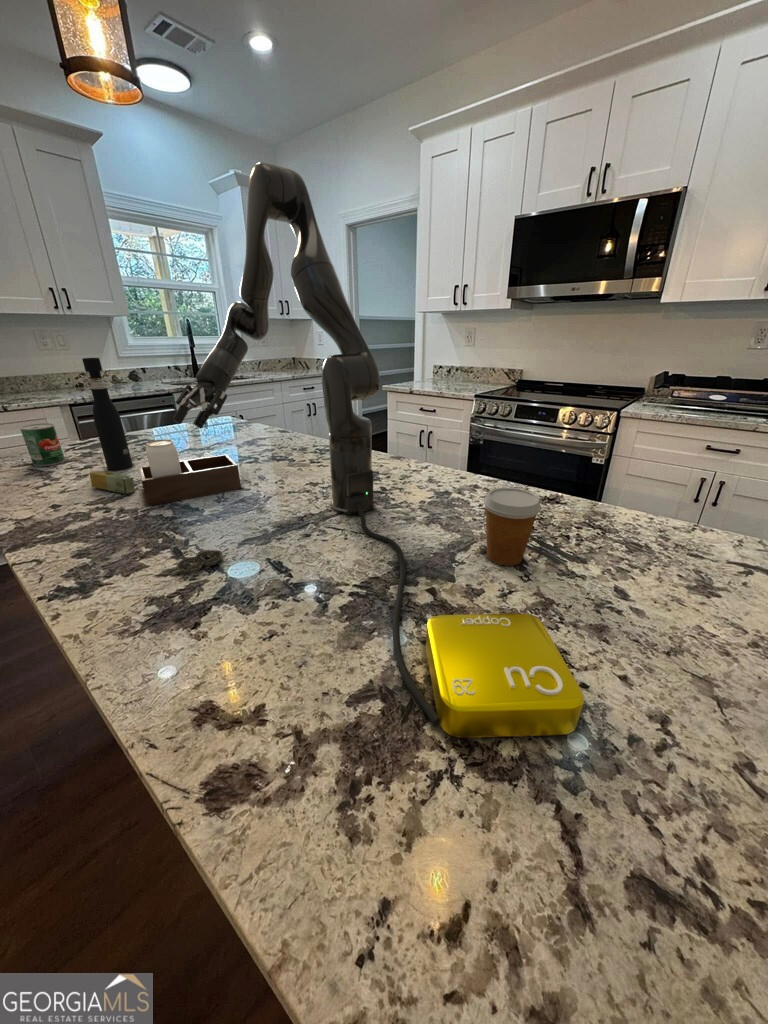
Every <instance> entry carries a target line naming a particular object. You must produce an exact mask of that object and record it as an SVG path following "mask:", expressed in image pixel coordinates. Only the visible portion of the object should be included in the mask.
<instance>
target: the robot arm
mask: <svg viewBox="0 0 768 1024" xmlns="http://www.w3.org/2000/svg"><path fill="white" fill-rule="evenodd" d="M246 208H247V209H246V212H247V213H246V229H245V230H246V234H245V241H246V242H245V258H244V265H243V270H242V276H241V281H240V286H239V296H240V298H241V300H242V301H243V302H242V301H236V302H233V303H232V304H230V306H229V308H228V311H227V315H226V320H225V325H224V327H223V331H222V334H221V336H220V338H219V339H218V341H217V343H216V345H215V346H214V347H213V349H212V350H211V351H210V352H209V354H208V356H207V357H206V359H205V360H204V362H203V364H201V367H200V368H199V370H198V371H197V373H196V375H195V380H196V382H197V383H196V385H194V386H191V385H190V384H187V385H186V386H185V387H184V388H183V390H182V392H181V393H180V395H179V396H178V398H177V399H176V401H175V404H176V405H177V406H178V408H177V410H176V412H175V413H174V415H173V417H172V420H173V421H174V422H175V423H177V424H181V425H182V423H183V421H184V420H185V419H186V416H187V415H188V413H189V412H190V411H191V410H192V409H197V408H198V407H199V406H201V410H199V412H198V414H197V416H196V417H195V419H194V421H193V425H194V426H196V427H197V428H198V429H203V428H204V426H205V424H206V423H207V421H208V419H209V418H210V417H212V416H213V415H215V416H217V415H219V413H220V411H221V409H222V408H223V406H224V404H225V402H226V400H227V398H228V395H227V393H226V391H227V390H228V388H229V386H230V384H231V382H232V381H233V379H234V377H235V376H236V373H237V372H238V369H239V367H240V365H241V363H242V362H243V360H244V358H245V357H246V355H247V353H248V350H249V346H248V343H247V342H246V341H245V340H244V338H243V337H241V336H240V335H239V334H238V332H239V333H241V334H242V335H245V336H246V337H248V338H250V339H252V340H254V341H261V340H264V338H266V336H267V334H268V333H269V328H270V315H269V314H270V313H269V299H270V294H271V291H272V286H273V284H274V277H275V275H274V274H275V273H274V272H275V271H274V265H273V260H272V258H271V255H270V252H269V249H268V246H267V242H266V228H267V223H268V220H272V221H278V222H282V223H283V222H284V223H287V224H288V225H289V226H290V227H291V229H292V233H293V234H294V237H295V240H296V246H295V250H294V253H293V255H292V256H293V257H292V260H291V266H290V279H291V282H292V285H293V288H294V290H295V292H296V295H297V297H298V301H299V303H300V305H301V307H302V309H303V310H304V311H305V313H306V314H307V315H308V316H309V317H310V319H311V320H312V321H313V322H314V323H315V324H316V325H318V327H319V328H321V329H322V331H324V332H325V333H326V334H327V335H328V336H329V337H330V338H331V339H332V341H333V342H334V344H335V345H336V346H337V349H338V350H339V352H340V354H339V353H337V354H331V355H329V356H327V357H326V358H325V360H324V361H323V364H322V367H321V387H322V397H323V405H324V406H323V407H324V416H325V419H326V424H327V426H328V427H327V428H328V442H329V445H328V446H329V460H330V462H329V465H330V483H331V496H332V497H331V499H332V500H331V507H332V508H333V509H334V510H335V511H336V512H339V513H344V514H348V515H350V516H352V515H355V514H358V515H359V518H360V526H361V529H362V530H363V532H364V533H365V534H366V535H368V536H369V537H371V538H373V539H375V540H378V541H382V542H385V543H387V544H389V545H390V546H391V547H393V549H394V551H395V552H396V553H397V558H398V564H399V579H398V585H397V592H396V597H395V598H396V599H395V604H394V608H393V615H392V647H393V648H392V649H393V653H394V658H395V661H396V665H397V668H398V670H399V674H400V676H401V678H402V680H403V682H404V684H405V687H406V688H407V689H408V691H409V693H410V694H411V696H412V697H413V698H414V700H415V701H416V703H417V704H418V705H419V707H420V708H421V709H422V711H423V712H424V714H425V715H426V717H427V718H428V720H429V721H430V723H431V724H432V726H438V725H440V724H439V717H438V715H437V711H436V710H435V709H434V708H433V706H432V705H431V704H430V702H429V700H427V698H426V697H425V696H424V694H423V693H422V692H421V690H420V689H419V688H418V686H417V685H416V683H415V681H414V680H413V678H412V676H411V674H410V672H409V669H408V668H407V665H406V663H405V660H404V656H403V652H402V646H401V634H400V633H401V632H400V631H401V630H400V622H401V621H400V619H401V612H402V606H403V600H404V593H405V592H404V591H405V584H406V577H407V570H406V562H405V557H404V553H403V550H402V548H401V547H400V545H399V544H398V543H397V542H396V541H395V540H393V539H392V538H390V537H387V536H384V535H381V534H378V533H375V532H373V531H372V530H370V528H368V525H367V522H366V516H365V514H364V512H368V511H372V510H374V470H373V463H372V461H373V460H372V458H373V456H372V449H373V448H372V444H373V443H372V442H373V441H372V433H373V432H372V431H373V430H372V421H371V419H370V418H368V417H366V416H363V415H360V414H357V413H355V411H354V409H353V402H354V401H361V400H367V399H371V398H374V397H375V396H376V395H377V394H378V392H379V389H380V386H381V376H380V371H379V367H378V364H377V362H376V360H375V357H374V355H373V353H372V351H371V349H370V348H369V345H368V343H367V342H366V340H365V338H364V336H363V334H362V332H361V330H360V328H359V326H358V324H357V321H356V319H355V317H354V315H353V313H352V310H351V308H350V305H349V303H348V300H347V299H346V296H345V293H344V291H343V288H342V284H341V281H340V279H339V277H338V274H337V272H336V268H335V267H334V264H333V262H332V260H331V257H330V255H329V252H328V249H327V247H326V244H325V242H324V239H323V237H322V233H321V231H320V228H319V225H318V221H317V217H316V215H315V211H314V207H313V204H312V200H311V197H310V193H309V190H308V188H307V185H306V182H305V180H304V178H303V177H302V176H301V175H300V173H298V172H297V171H295V170H293V169H290V168H286V167H283V166H280V165H275V164H273V163H268V162H261V161H260V162H258V163H256V164H255V165H254V166H253V168H252V170H251V172H250V176H249V181H248V190H247V207H246ZM215 406H216V407H215Z"/></svg>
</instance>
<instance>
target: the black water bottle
mask: <svg viewBox="0 0 768 1024" xmlns="http://www.w3.org/2000/svg"><path fill="white" fill-rule="evenodd" d="M81 361H82V364H83V366H84V370H85V372H86V373H88V374H89V379H90V380H91V381H90V384H89V385H90V387H91V389H90V391H91V396H92V398H93V404H92V417H93V418H92V419H93V423H94V426H95V430H96V433H97V437H98V439H99V443H100V446H101V450H102V454H103V457H104V460H105V465H106V468H107V470H108V471H123V470H127V469H130V468H132V467H133V466H134V465H133V461H132V457H131V453H130V449H129V445H128V442H127V436H126V434H125V430H124V425H123V422H122V418H121V415H120V413H119V411H118V409H117V407H116V405H115V404H114V402H113V401H112V399H111V398H110V394H109V389H108V388H107V387H106V382H105V381H104V380H102V379H103V377H102V374H101V372H103V371H104V369H103V367H102V362H101V359H100V357H83V358H81Z"/></svg>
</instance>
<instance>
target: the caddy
mask: <svg viewBox="0 0 768 1024" xmlns="http://www.w3.org/2000/svg"><path fill="white" fill-rule="evenodd" d="M179 463H180V467H181V472H182V473H180V474H174V475H167V476H161V477H155V478H152V473H151V469H150V465H144V466H143V465H142V466H138V467H137V470H138V474H139V477H140V481H141V485H142V490H143V493H144V497H145V502H146V504H147V507H151V506H155V505H161V504H165V503H166V504H167V503H172V502H176V501H182V500H188V499H193V498H199V497H203V496H209V495H213V494H220V493H224V492H225V493H226V492H230V491H235V490H240V489H242V485H241V478H240V477H241V476H240V473H239V472H240V471H239V465H238V464H237V463H236V462H235V461H234V459H232V457H231V456H230V455H229V454H228V453H226V454H220V455H212V456H205V457H198V458H192V459H184V460H179Z"/></svg>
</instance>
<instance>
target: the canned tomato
mask: <svg viewBox="0 0 768 1024" xmlns="http://www.w3.org/2000/svg"><path fill="white" fill-rule="evenodd" d="M19 430H20V432H21V435H22V438H23V440H24V443H25V446H26V449H27V451H28V454H29V457H30V459H31V462H32V465H33V466H34V467H49V466H55V465H59V464H62V463H64V462H66V458H65V455H64V451H63V448H62V446H61V442H60V440H59V436H58V433H57V431H56V427H55V424H54V423H50V422H49V423H48V422H47V423H46V422H45V423H44V422H43V423H42V422H41V423H33V424H27V425H23V426H20V427H19Z"/></svg>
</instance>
